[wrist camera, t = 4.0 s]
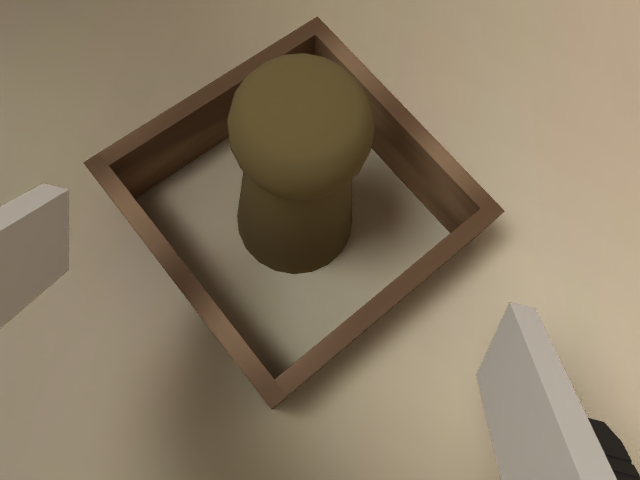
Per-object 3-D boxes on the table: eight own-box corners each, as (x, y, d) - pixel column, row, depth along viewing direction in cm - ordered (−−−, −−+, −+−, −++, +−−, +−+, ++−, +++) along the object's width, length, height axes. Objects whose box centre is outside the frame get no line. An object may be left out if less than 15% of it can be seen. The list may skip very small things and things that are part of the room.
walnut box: (111, 197, 27) (83, 162, 23) (312, 65, 30) (317, 16, 26) (272, 409, 24) (271, 409, 20) (473, 238, 28) (504, 211, 24)
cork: (215, 203, 27) (173, 75, 17) (309, 147, 29) (325, -3, 18) (279, 296, 26) (277, 220, 15) (374, 233, 27) (432, 124, 17)
